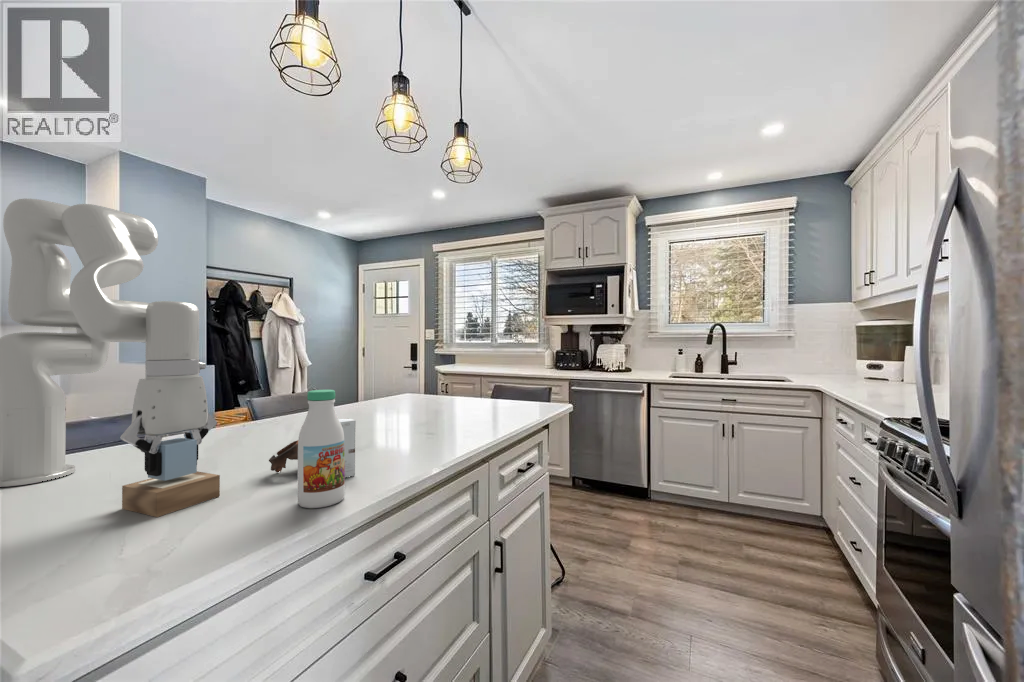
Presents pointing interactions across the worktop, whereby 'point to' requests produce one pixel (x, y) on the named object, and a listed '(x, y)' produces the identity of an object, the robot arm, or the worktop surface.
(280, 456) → the brown segmented ring
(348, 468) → the skincare box
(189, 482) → the walnut plinth
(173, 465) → the slate block
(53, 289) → the robot arm
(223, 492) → the worktop surface
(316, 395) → the milk bottle
